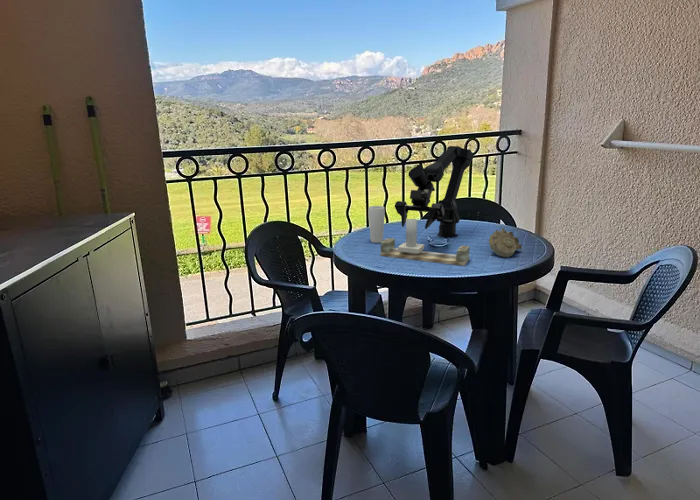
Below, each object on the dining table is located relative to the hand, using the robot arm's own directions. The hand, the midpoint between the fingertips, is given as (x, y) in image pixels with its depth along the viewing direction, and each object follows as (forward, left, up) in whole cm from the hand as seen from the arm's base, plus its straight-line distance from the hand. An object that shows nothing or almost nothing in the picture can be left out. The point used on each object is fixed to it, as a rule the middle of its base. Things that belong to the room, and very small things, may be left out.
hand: (414, 227), depth 166 cm
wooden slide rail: (-1, +6, -10) cm, 12 cm away
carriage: (+2, +2, -8) cm, 9 cm away
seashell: (-30, +16, -11) cm, 36 cm away
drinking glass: (+5, -22, -11) cm, 25 cm away
